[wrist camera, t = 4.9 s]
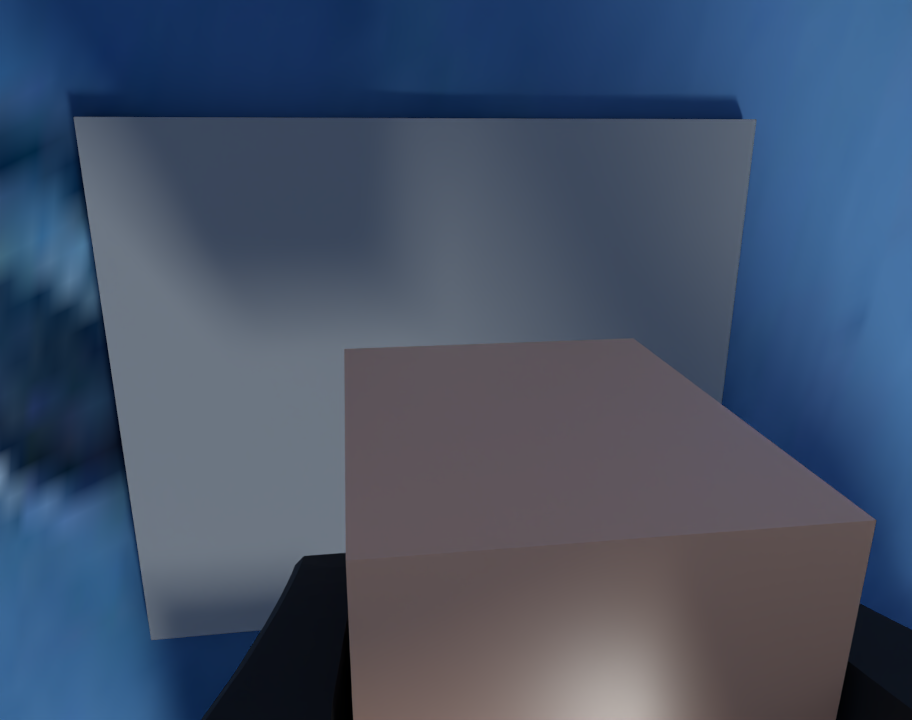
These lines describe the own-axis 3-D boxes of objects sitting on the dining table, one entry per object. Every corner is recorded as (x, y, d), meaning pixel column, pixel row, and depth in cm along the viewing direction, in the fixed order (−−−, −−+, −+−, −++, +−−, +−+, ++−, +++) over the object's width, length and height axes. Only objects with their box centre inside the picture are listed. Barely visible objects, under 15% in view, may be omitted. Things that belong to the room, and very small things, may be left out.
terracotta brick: (633, 337, 10) (875, 520, 6) (604, 687, 12) (769, 1046, 7) (344, 348, 10) (346, 559, 5) (359, 713, 12) (371, 1117, 7)
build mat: (744, 119, 17) (756, 119, 16) (690, 580, 20) (698, 590, 20) (82, 117, 15) (73, 116, 14) (156, 626, 18) (151, 640, 18)
